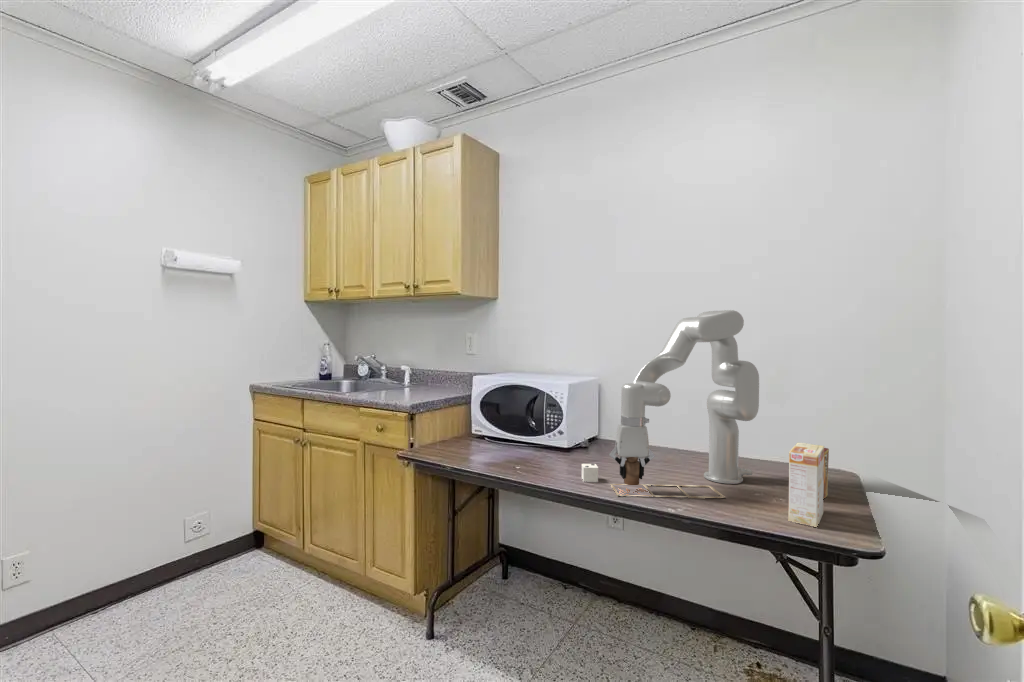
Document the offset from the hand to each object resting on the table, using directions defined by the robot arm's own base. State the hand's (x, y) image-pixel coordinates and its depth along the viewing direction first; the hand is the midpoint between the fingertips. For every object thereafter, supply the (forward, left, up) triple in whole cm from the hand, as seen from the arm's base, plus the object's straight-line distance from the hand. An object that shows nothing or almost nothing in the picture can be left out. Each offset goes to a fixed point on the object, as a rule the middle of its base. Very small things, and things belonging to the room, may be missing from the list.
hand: (631, 477), depth 152 cm
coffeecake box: (-44, +20, -5) cm, 49 cm away
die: (+12, -11, -4) cm, 17 cm away
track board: (-11, 0, -4) cm, 12 cm away
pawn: (0, 0, -2) cm, 2 cm away
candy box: (-58, +3, -5) cm, 58 cm away
